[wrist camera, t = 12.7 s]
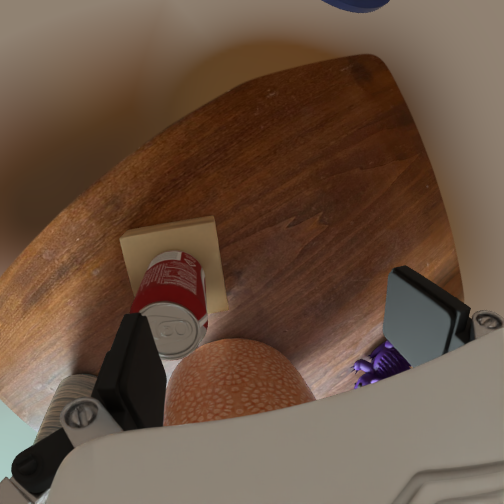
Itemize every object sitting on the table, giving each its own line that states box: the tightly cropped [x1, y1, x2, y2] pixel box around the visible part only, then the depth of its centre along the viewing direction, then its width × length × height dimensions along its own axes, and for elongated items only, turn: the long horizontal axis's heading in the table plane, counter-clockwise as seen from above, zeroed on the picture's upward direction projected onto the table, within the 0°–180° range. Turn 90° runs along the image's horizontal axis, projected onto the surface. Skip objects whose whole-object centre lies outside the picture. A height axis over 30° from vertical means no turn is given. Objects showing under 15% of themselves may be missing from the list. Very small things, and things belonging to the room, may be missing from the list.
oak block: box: [120, 215, 229, 314], centre depth 36 cm, size 11×11×4 cm
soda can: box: [130, 250, 208, 360], centre depth 28 cm, size 7×7×12 cm
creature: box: [350, 339, 411, 389], centre depth 43 cm, size 9×18×12 cm, turn 127°
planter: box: [163, 338, 316, 427], centre depth 35 cm, size 21×21×19 cm
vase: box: [33, 374, 97, 445], centre depth 31 cm, size 12×12×23 cm
